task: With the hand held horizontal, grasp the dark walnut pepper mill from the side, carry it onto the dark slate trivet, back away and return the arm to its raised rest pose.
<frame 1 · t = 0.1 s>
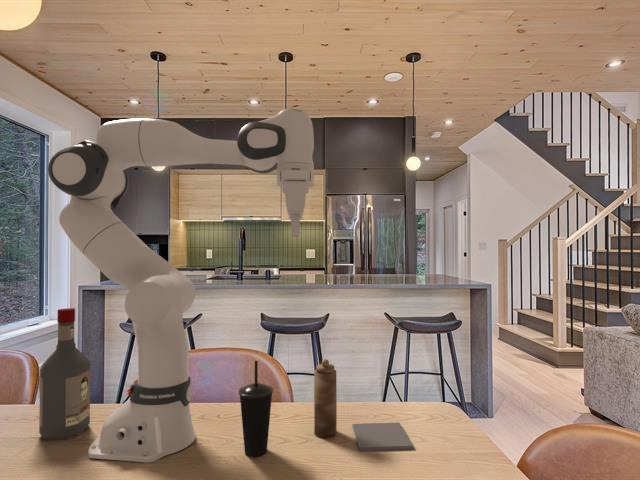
hand: (295, 236, 97), 48 cm above the table, tool pointing down, fingers open, 8 cm apart
trivet: (380, 437, 96), on the table
drinking cup: (256, 452, 90), on the table
liquor: (65, 432, 100), on the table
pepper mill: (325, 433, 99), on the table
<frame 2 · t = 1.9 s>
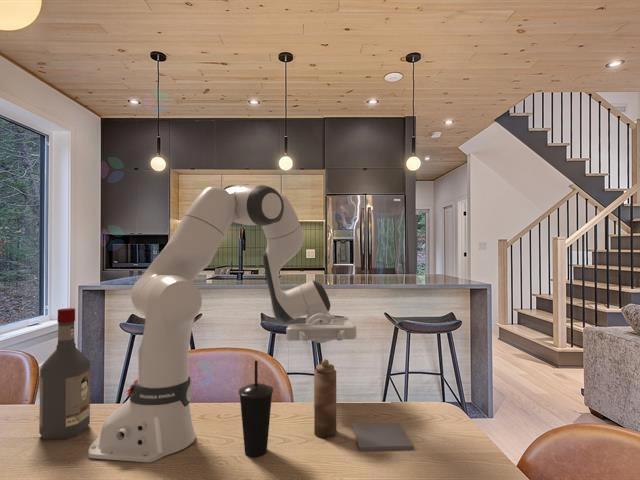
hand: (322, 337, 111), 20 cm above the table, tool horizontal, fingers open, 8 cm apart
nothing on the table moved.
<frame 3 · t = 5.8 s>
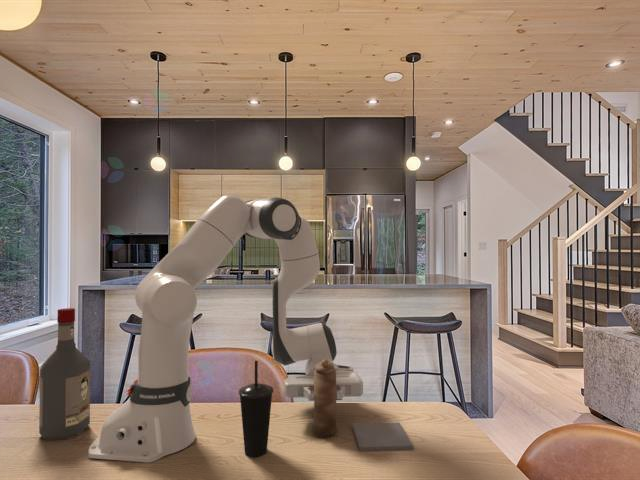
hand: (325, 397, 98), 9 cm above the table, tool horizontal, fingers closed on pepper mill, 5 cm apart
pepper mill: (325, 433, 99), on the table, touching gripper
everything else where it was.
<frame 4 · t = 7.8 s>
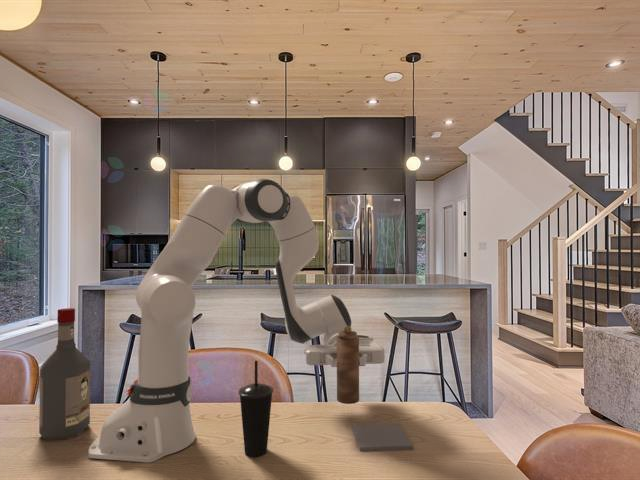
hand: (348, 363, 97), 17 cm above the table, tool horizontal, fingers closed on pepper mill, 5 cm apart
pepper mill: (348, 399, 98), point 8 cm above the table, touching gripper
everything else where it was.
when the fingers open (11 cm above the table, at t = 9.8 s): pepper mill drops 1 cm, resting on trivet.
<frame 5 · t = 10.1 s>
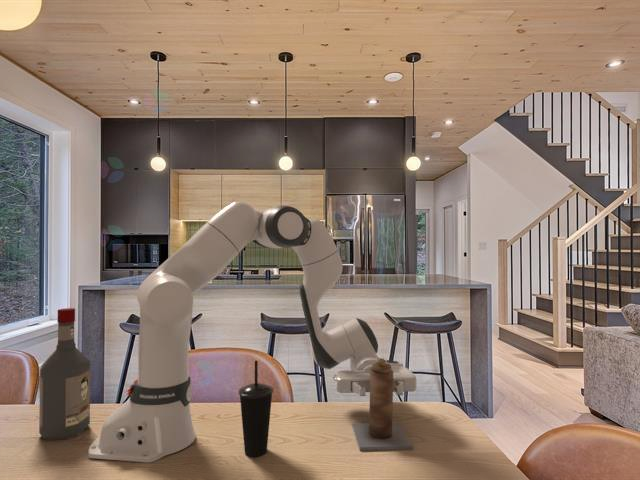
hand: (381, 392, 96), 11 cm above the table, tool horizontal, fingers open, 8 cm apart
pepper mill: (380, 433, 96), point 1 cm above the table, touching trivet
everything else where it was.
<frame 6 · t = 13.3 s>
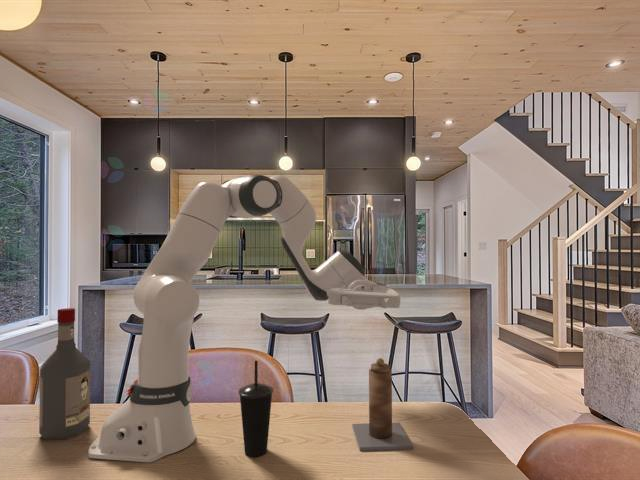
hand: (367, 304, 107), 30 cm above the table, tool horizontal, fingers open, 8 cm apart
nothing on the table moved.
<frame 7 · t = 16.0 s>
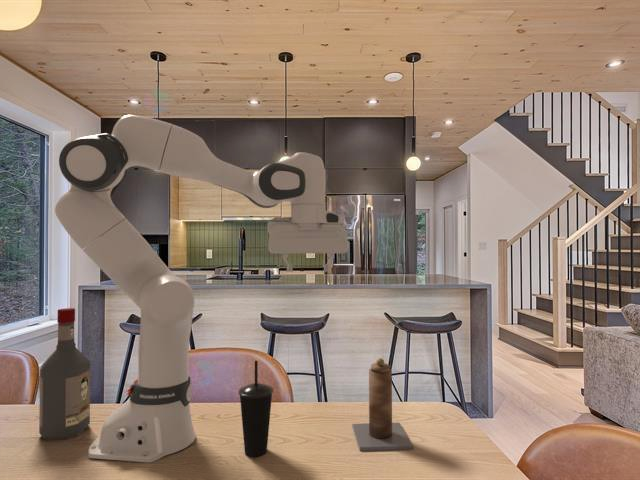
hand: (308, 271, 103), 39 cm above the table, tool pointing down, fingers open, 8 cm apart
nothing on the table moved.
at the end: pepper mill inside the target area on the trivet (0.1 cm from its centre), point 0.8 cm above the trivet's base; pepper mill tilted 0°; the gripper is holding nothing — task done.
